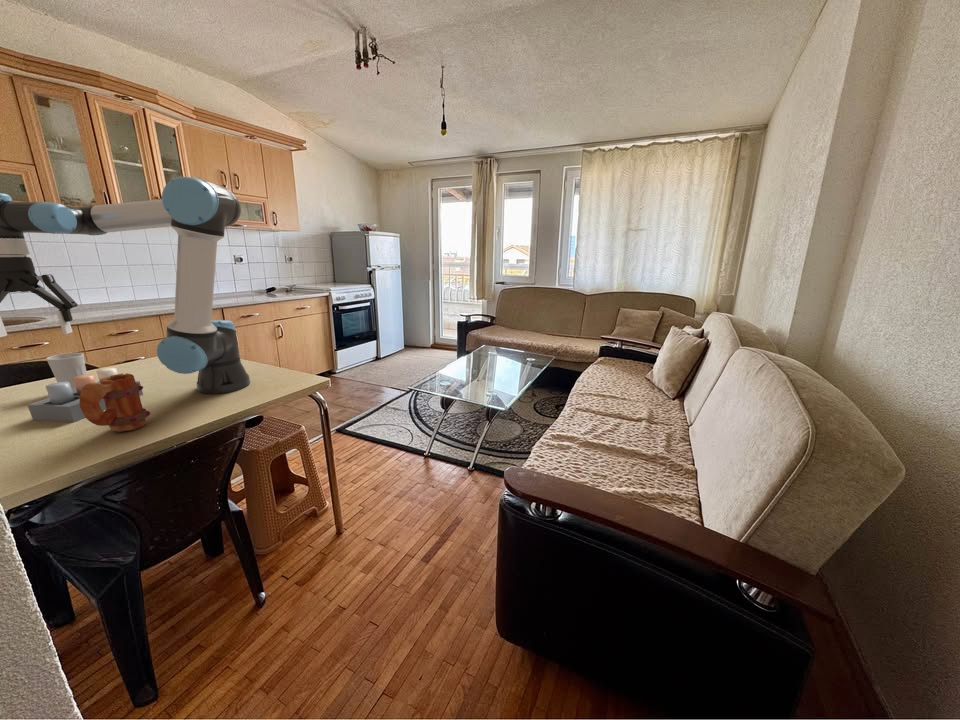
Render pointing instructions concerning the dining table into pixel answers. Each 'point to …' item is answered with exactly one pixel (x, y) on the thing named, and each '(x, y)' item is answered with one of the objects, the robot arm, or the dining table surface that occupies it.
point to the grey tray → (61, 409)
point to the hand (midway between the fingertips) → (35, 334)
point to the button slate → (60, 393)
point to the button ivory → (106, 372)
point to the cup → (67, 367)
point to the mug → (114, 403)
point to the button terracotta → (83, 381)
